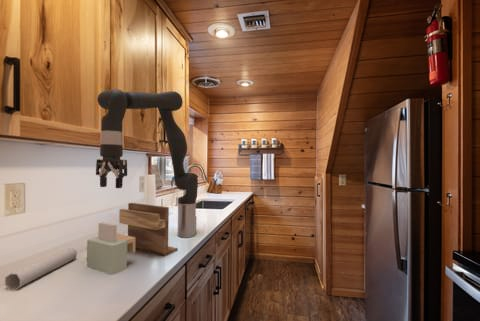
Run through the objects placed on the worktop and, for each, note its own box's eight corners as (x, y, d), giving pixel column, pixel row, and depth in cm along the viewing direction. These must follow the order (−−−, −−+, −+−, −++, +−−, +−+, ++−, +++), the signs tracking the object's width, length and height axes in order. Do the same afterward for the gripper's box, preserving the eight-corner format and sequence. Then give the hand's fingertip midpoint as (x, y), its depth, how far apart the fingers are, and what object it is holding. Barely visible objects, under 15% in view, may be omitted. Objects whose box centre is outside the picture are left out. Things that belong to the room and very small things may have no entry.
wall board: (141, 242, 120) (142, 201, 120) (177, 250, 110) (178, 205, 110) (118, 250, 108) (119, 204, 109) (156, 260, 99) (157, 209, 99)
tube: (65, 248, 100) (2, 275, 75) (78, 244, 100) (18, 270, 75) (69, 261, 100) (7, 293, 75) (81, 257, 100) (22, 288, 75)
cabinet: (112, 257, 101) (113, 217, 101) (136, 264, 95) (137, 222, 95) (86, 266, 92) (87, 223, 92) (111, 274, 86) (112, 228, 86)
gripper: (133, 144, 93) (132, 187, 93) (108, 145, 99) (107, 185, 99) (115, 142, 86) (114, 189, 86) (89, 143, 92) (88, 187, 92)
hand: (110, 187), depth 92 cm, fingers open, 8 cm apart
